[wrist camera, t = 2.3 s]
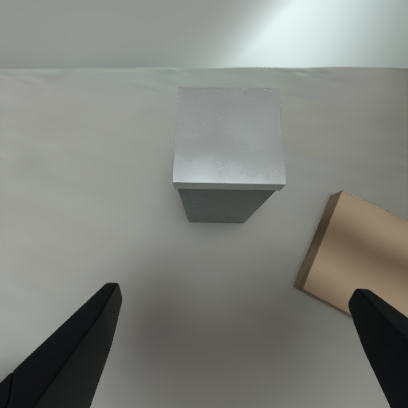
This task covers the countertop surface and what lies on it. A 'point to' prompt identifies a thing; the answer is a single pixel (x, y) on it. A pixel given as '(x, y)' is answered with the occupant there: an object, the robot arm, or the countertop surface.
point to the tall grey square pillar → (227, 151)
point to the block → (357, 255)
